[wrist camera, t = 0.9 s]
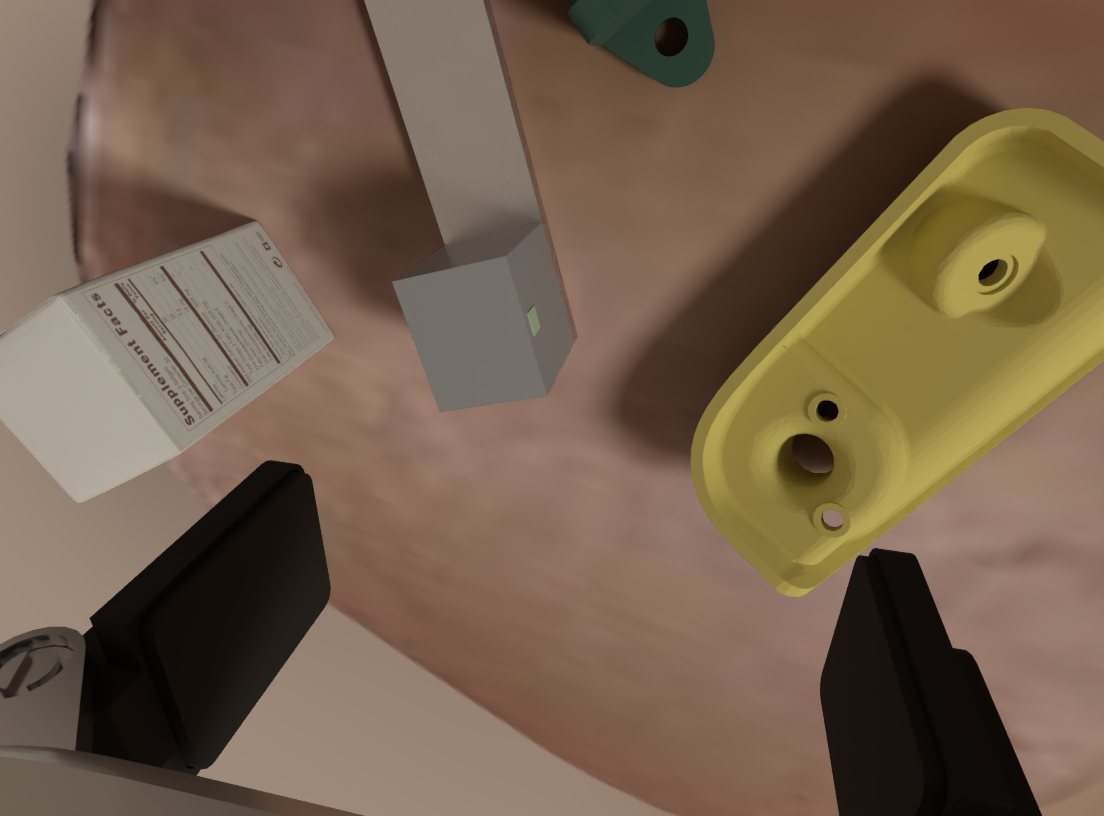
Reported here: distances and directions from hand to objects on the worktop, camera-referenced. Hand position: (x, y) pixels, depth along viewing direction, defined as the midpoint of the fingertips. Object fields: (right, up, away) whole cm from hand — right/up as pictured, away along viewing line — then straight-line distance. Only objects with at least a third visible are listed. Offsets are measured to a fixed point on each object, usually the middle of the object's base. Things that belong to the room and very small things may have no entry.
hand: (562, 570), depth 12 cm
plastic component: (+16, +6, +20) cm, 26 cm away
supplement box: (-17, +9, +26) cm, 32 cm away
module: (-2, +8, +21) cm, 23 cm away
